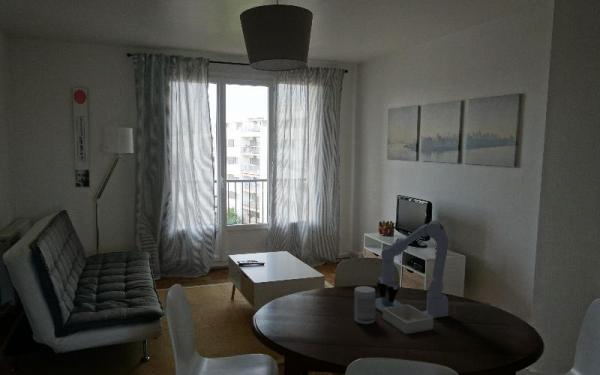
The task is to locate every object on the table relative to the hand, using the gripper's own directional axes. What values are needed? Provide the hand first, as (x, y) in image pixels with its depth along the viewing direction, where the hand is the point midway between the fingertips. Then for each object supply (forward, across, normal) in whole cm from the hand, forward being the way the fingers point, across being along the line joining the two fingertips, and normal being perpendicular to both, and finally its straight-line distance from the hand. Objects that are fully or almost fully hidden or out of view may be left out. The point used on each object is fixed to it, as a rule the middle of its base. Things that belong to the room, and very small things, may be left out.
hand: (387, 299), depth 222 cm
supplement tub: (+4, +11, -19) cm, 22 cm away
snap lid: (+3, 0, 0) cm, 3 cm away
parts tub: (+4, +21, -3) cm, 22 cm away
